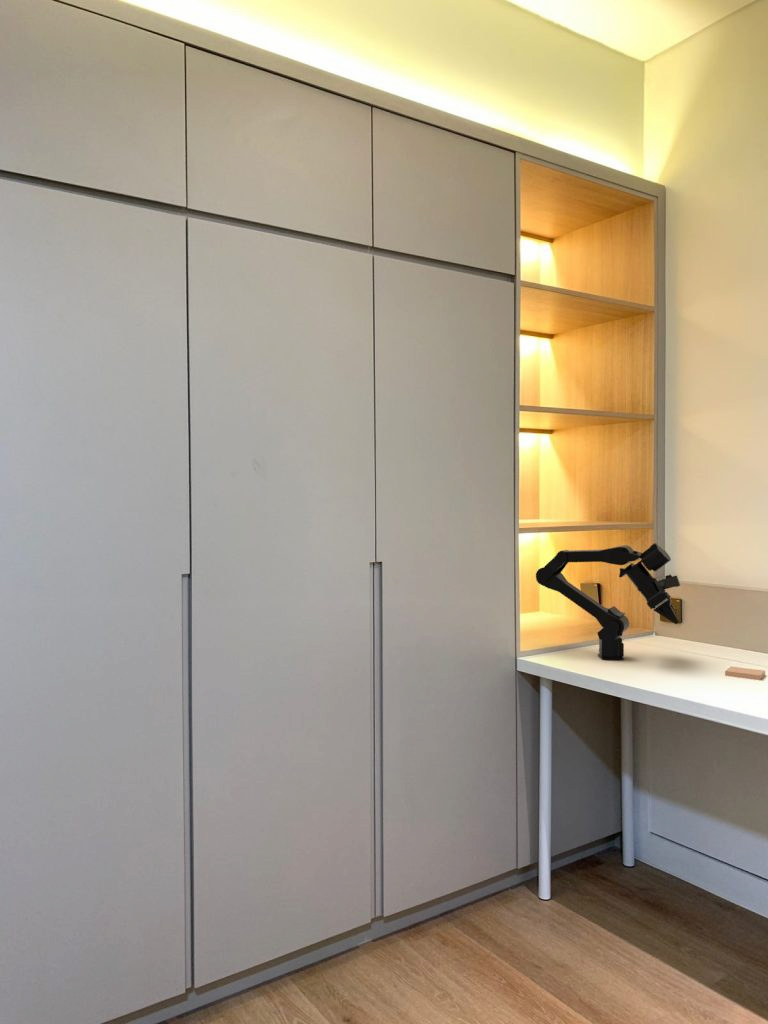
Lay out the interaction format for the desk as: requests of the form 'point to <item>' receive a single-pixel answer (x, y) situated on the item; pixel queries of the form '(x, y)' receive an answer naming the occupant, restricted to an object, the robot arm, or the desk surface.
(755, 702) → the desk surface
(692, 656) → the desk surface
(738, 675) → the glazed tile
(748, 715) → the desk surface
